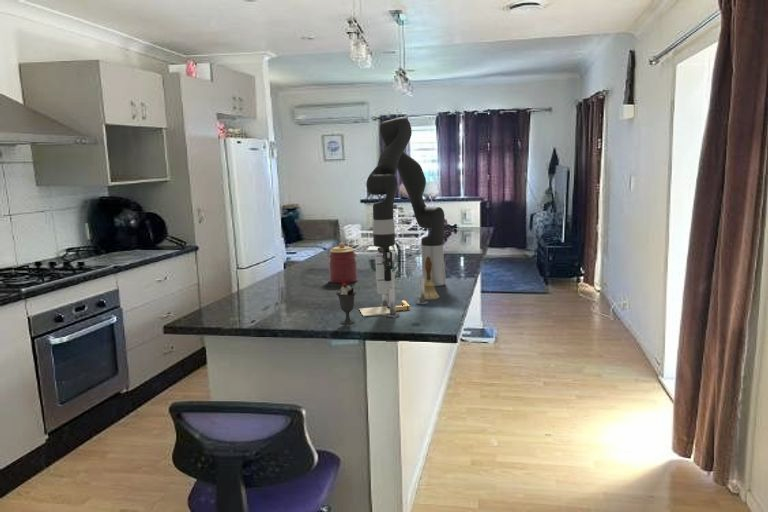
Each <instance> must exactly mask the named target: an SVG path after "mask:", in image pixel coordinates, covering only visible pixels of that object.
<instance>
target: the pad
mask: <svg viewBox="0 0 768 512" xmlns="http://www.w3.org/2000/svg"><path fill="white" fill-rule="evenodd" d="M359 310H360V311H359ZM358 311H359V312H361V313H360V314H361V316H362V315H363V316H372V317H375V316H374V315H383V316H387V315H386V314H388V313H390V308H387V307H385V306H384V307H379V306H377V307H375V306H374V307H363V308H358ZM363 316H362V317H363Z"/></svg>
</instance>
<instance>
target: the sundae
mask: <svg viewBox="0 0 768 512" xmlns="http://www.w3.org/2000/svg"><path fill="white" fill-rule="evenodd" d="M340 279H341V280H342V278H340ZM335 295H336V296H338V297H337V298H338V299H339V305H340V308H341V310H342V311H343V312H344V313H345V318H344V320H342V321H340V324H341V323H342V324H341V325H344V324H349V325H352V324H351V323H354V322H355V323H356V321H355V320H352V319H351V318H350V313H351V312H352V311H353V309H354V306H355V295H357V291H354V287H352V286H350V285H349V284H347V283H344V281H343V283H341V285H340V288H339V290H338V292H336V293H335ZM355 323H354V324H355Z"/></svg>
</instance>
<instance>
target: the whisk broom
mask: <svg viewBox="0 0 768 512" xmlns="http://www.w3.org/2000/svg"><path fill="white" fill-rule="evenodd" d="M431 268H432V262H431V259H430V257H427V258H426V261H425V269H426V273H427V276H426V282H425V283H424V291H425V301H429V300H430V301H431V300H437V299H440V295H439V293H437V291H436V286H434V283H432V282H431V274H430V273H431ZM417 298H418V299H419V295H418V296H417Z"/></svg>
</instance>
